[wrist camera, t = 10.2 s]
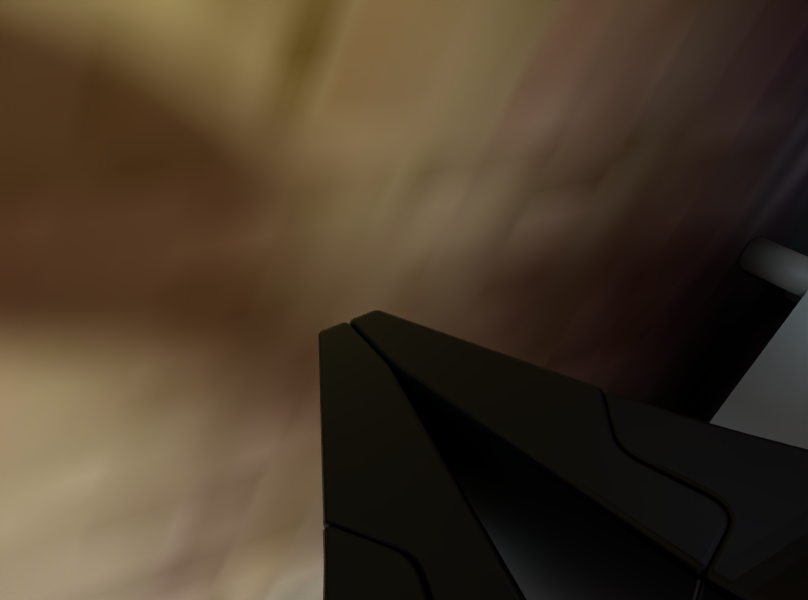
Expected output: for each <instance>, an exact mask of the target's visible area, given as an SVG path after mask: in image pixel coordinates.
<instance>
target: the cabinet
mask: <svg viewBox="0 0 808 600" xmlns="http://www.w3.org/2000/svg"><path fill="white" fill-rule="evenodd" d="M740 266H741V268H742V269H744V270H746V271H748V272H750V273H752V274H754V275H756V276H758V277H760V278H763V279H765V280H767V281H769V282H771V283H773V284H775V285H777V286H779V287H781V288H783V289H785V297H786V298H788V299H790V300H792V301H794V302H796V303H798V304H797V306H796V307H795V308H794V310H793V311H792V312H791V314H790V315H789V316H788V318H787V319H786V320H785V322H784V323H783V324H782V326H781V327H780V328H779V330H778V331H777V332H776V334H775V335H774V336H773V338H772V339H771V340H770V342H769V343H768V344H767V346H766V347H765V348H764V350H763V351H762V353H761V354H760V355H759V357H758V358H757V359H756V361H755V362H754V363H753V365H752V366H751V367H750V369H749V370H748V371H747V373H746V374H745V375H744V377H743V378H742V379H741V381H740V382H739V383H738V385H737V386H736V387H735V389H734V390H733V391H732V393H731V394H730V395H729V397H728V398H727V400H726V401H725V402H724V404H723V405H722V406H721V408H720V409H719V410H718V412H717V413H716V414H715V416H714V417H713V418H712V420H711V421H710V422H709V423H712V424H715V425H719V426H722V427H726V428H729V429H733V430H736V431H740V432H744V433H748V434H751V435H755V436H759V437H763V438H767V439H770V440H774V441H778V442H782V443H786V444H789V445H793V446H797V447H801V448H805V449H808V257H807V256H805V255H802V254H800V253H798V252H795V251H793V250H791V249H788V248H786V247H784V246H782V245H779V244H777V243H775V242H772V241H770V240H768V239H765V238H763V237H758V238H755V239H754V240H752V241H751V242H750V243H749V244H748V245H747V246H746V248H745V249H744V251H743V253H742V255H741V258H740Z"/></svg>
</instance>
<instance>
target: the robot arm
mask: <svg viewBox="0 0 808 600" xmlns="http://www.w3.org/2000/svg"><path fill="white" fill-rule="evenodd" d="M319 375H320V413H321V452H322V491H323V525H324V528H325V529H324V530H323V547H324V583H323V600H808V449H805V448H801V447H797V446H793V445H789V444H786V443H782V442H778V441H774V440H770V439H767V438H763V437H759V436H755V435H751V434H748V433H744V432H740V431H736V430H733V429H729V428H726V427H722V426H719V425H715V424H712V423H708V422H705V421H701V420H697V419H694V418H690V417H687V416H683V415H680V414H677V413H674V412H671V411H668V410H665V409H662V408H659V407H656V406H653V405H650V404H647V403H644V402H640V401H637V400H635V399H632V398H629V397H626V396H623V395H620V394H617V393H615V392H612V391H609V390H606V391H604V393H603V391H602V389H601V388H599V387H597V386H594V385H591V384H588V383H585V382H582V381H580V380H577V379H574V378H571V377H568V376H565V375H562V374H560V373H557V372H554V371H551V370H548V369H545V368H542V367H540V366H537V365H534V364H531V363H528V362H525V361H522V360H520V359H517V358H514V357H511V356H508V355H505V354H502V353H500V352H497V351H494V350H491V349H488V348H485V347H482V346H480V345H477V344H474V343H471V342H468V341H465V340H462V339H460V338H457V337H454V336H451V335H448V334H445V333H442V332H439V331H437V330H434V329H431V328H428V327H425V326H422V325H419V324H417V323H414V322H411V321H408V320H405V319H402V318H399V317H397V316H394V315H391V314H388V313H385V312H382V311H378V310H376V311H372V312H370V313H367V314H364V315H362V316H359V317H357V318H354V319H352V320H351V321H350V324H349V323H341V324H338V325H336V326H333V327H331V328H328V329H325V330H323V331H321V332H320V333H319Z"/></svg>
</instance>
